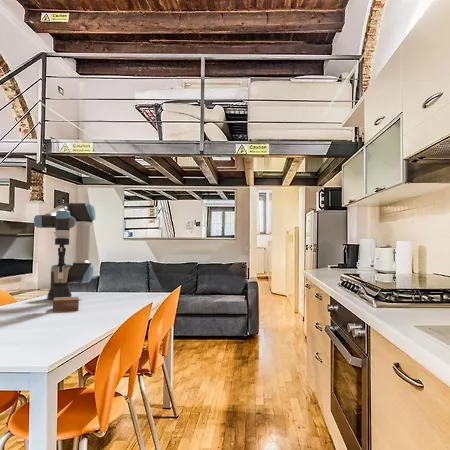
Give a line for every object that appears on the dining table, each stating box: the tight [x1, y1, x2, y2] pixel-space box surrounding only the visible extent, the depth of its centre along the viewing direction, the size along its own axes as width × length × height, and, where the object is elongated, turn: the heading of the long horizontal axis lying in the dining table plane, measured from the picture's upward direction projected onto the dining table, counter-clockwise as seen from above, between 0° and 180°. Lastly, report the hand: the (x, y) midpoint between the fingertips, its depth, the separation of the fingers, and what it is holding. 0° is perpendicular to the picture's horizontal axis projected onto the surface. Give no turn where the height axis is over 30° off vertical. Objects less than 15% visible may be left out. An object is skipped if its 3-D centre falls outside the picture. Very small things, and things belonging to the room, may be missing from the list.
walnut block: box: [52, 296, 80, 313], centre depth 224 cm, size 13×13×6 cm
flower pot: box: [51, 266, 70, 283], centre depth 224 cm, size 9×9×9 cm
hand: (61, 277), depth 224 cm, fingers closed on flower pot, 9 cm apart
